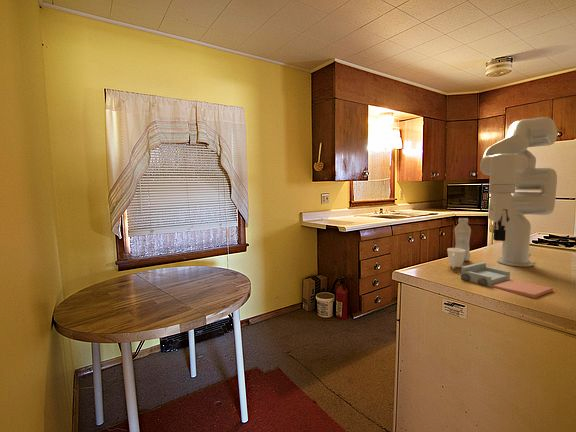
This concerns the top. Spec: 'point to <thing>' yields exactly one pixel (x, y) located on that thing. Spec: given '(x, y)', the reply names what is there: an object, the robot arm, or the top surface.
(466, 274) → the flatbed
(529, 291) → the plate
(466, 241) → the plastic bottle
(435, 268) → the top surface
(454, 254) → the cup
